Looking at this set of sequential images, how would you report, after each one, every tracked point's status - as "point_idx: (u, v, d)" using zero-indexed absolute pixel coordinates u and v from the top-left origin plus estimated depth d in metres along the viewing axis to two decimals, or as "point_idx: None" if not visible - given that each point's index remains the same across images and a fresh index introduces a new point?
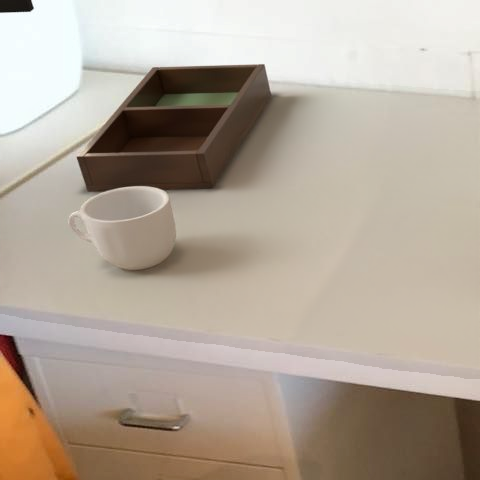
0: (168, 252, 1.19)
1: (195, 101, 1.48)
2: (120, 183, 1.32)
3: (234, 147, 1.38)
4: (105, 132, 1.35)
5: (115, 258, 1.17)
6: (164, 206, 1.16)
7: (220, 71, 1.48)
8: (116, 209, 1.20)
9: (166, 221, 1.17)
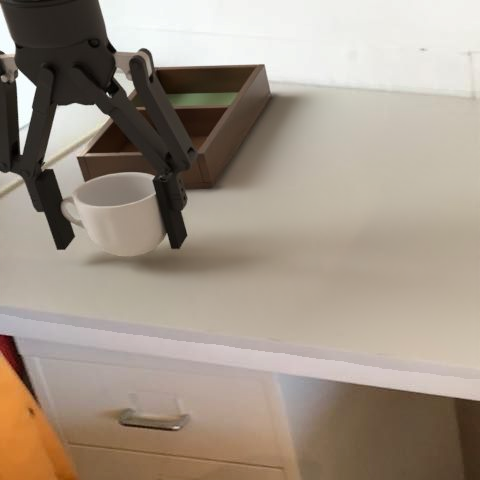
0: (161, 239, 1.18)
1: (195, 101, 1.48)
2: None
3: (234, 147, 1.38)
4: (105, 132, 1.35)
5: (107, 244, 1.16)
6: None
7: (220, 71, 1.48)
8: (108, 195, 1.19)
9: (159, 207, 1.16)
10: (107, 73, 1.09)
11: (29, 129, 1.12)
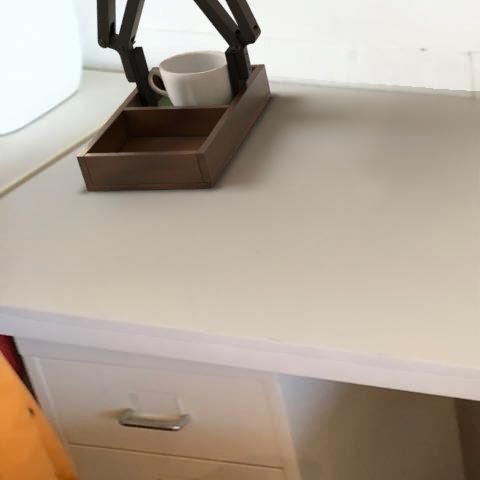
0: None
1: None
2: (120, 183, 1.32)
3: (234, 147, 1.38)
4: (105, 132, 1.35)
5: None
6: None
7: None
8: (186, 70, 1.45)
9: (229, 76, 1.42)
10: None
11: (125, 10, 1.38)
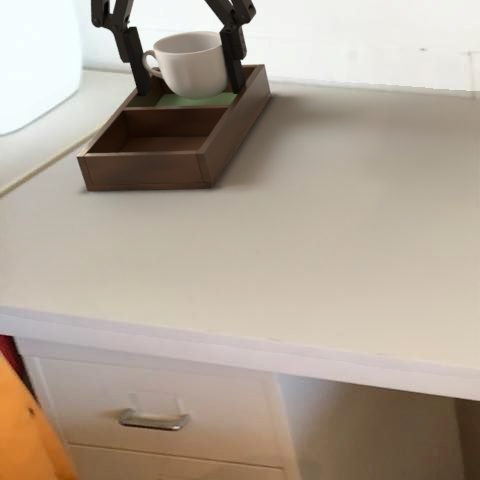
0: (225, 85, 1.43)
1: (195, 101, 1.48)
2: (120, 183, 1.32)
3: (234, 147, 1.38)
4: (105, 132, 1.35)
5: (181, 88, 1.40)
6: None
7: None
8: (181, 51, 1.44)
9: (224, 57, 1.41)
10: None
11: None
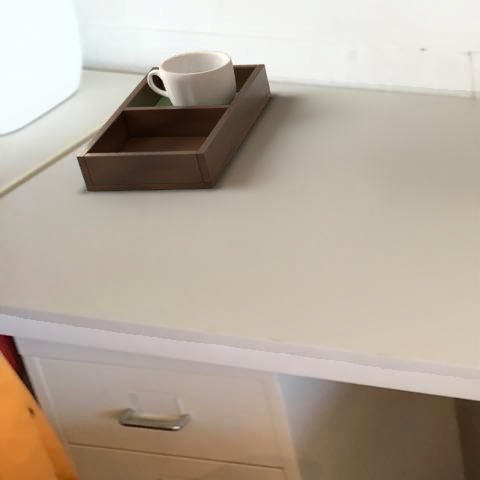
0: None
1: None
2: (120, 183, 1.32)
3: (234, 147, 1.38)
4: (105, 132, 1.35)
5: None
6: (227, 63, 1.41)
7: None
8: (186, 70, 1.45)
9: (229, 76, 1.42)
10: None
11: None
